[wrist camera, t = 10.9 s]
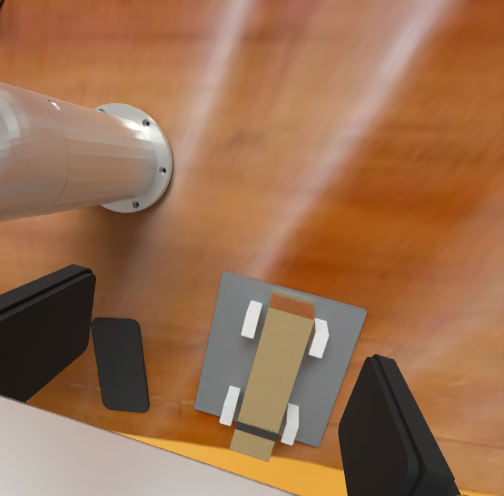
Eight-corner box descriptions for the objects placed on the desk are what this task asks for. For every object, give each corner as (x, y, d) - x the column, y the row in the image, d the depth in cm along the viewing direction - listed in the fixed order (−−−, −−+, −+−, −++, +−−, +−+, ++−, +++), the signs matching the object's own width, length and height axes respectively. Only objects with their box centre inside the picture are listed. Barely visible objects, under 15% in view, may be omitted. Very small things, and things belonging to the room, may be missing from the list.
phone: (138, 320, 43) (149, 413, 47) (141, 318, 44) (151, 409, 47) (89, 318, 44) (103, 409, 48) (93, 316, 45) (106, 405, 48)
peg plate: (196, 403, 45) (185, 428, 41) (224, 270, 40) (215, 283, 35) (317, 441, 44) (319, 471, 40) (365, 308, 38) (373, 326, 34)
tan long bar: (272, 290, 38) (268, 307, 33) (313, 301, 38) (315, 321, 33) (236, 418, 44) (228, 450, 39) (272, 429, 43) (268, 463, 38)
